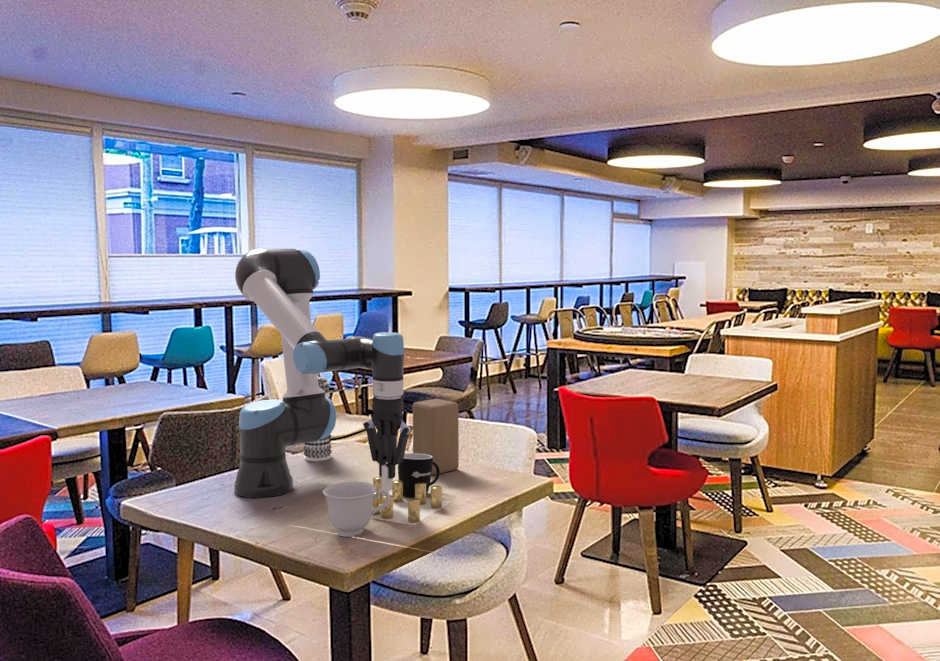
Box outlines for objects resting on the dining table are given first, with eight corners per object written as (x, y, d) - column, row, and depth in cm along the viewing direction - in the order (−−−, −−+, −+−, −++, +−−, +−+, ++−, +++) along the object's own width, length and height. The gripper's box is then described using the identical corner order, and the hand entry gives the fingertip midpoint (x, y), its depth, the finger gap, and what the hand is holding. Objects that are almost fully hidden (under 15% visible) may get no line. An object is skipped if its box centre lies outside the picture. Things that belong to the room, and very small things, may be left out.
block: (437, 463, 229) (437, 397, 227) (460, 469, 222) (459, 402, 220) (411, 469, 223) (411, 401, 221) (433, 476, 215) (433, 406, 213)
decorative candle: (336, 454, 240) (334, 375, 238) (328, 461, 231) (326, 380, 228) (308, 453, 241) (306, 375, 238) (298, 461, 232) (296, 380, 229)
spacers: (343, 512, 184) (343, 491, 183) (378, 494, 197) (378, 475, 197) (415, 524, 175) (415, 503, 175) (445, 505, 189) (445, 485, 188)
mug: (407, 500, 190) (409, 460, 190) (390, 493, 198) (391, 454, 198) (447, 496, 197) (449, 457, 197) (428, 489, 205) (430, 451, 205)
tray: (331, 512, 184) (331, 510, 184) (374, 491, 201) (374, 489, 201) (414, 526, 174) (414, 525, 174) (451, 503, 191) (451, 501, 191)
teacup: (389, 541, 166) (389, 496, 165) (320, 543, 164) (319, 498, 163) (391, 522, 178) (390, 480, 177) (326, 524, 176) (325, 482, 175)
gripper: (356, 396, 184) (356, 490, 187) (403, 401, 179) (402, 499, 181) (373, 391, 191) (373, 482, 193) (418, 396, 185) (417, 490, 188)
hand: (387, 490), depth 187 cm, fingers closed
